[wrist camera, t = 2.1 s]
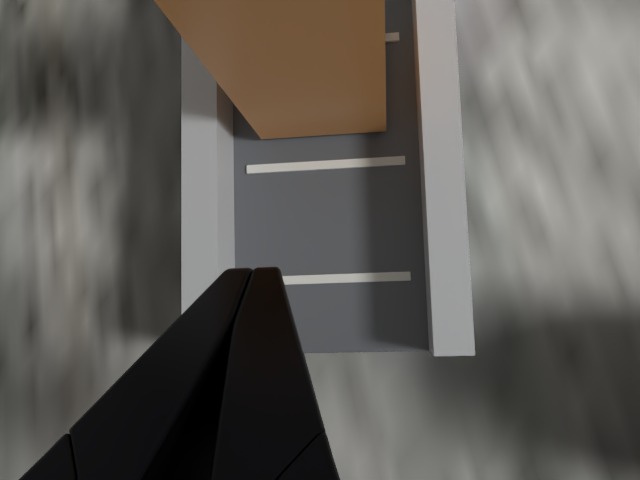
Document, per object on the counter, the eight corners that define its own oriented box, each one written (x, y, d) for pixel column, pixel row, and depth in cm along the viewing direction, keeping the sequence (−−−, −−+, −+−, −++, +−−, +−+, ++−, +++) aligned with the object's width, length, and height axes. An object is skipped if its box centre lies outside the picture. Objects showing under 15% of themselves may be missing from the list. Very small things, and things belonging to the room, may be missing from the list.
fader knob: (386, 132, 19) (384, -51, 9) (261, 140, 20) (132, -25, 10) (381, 20, 20) (374, -270, 10) (259, 30, 20) (134, -234, 10)
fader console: (458, 345, 20) (475, 355, 17) (219, 350, 22) (181, 360, 18) (431, -132, 23) (440, -223, 19) (215, -106, 24) (181, -188, 20)
